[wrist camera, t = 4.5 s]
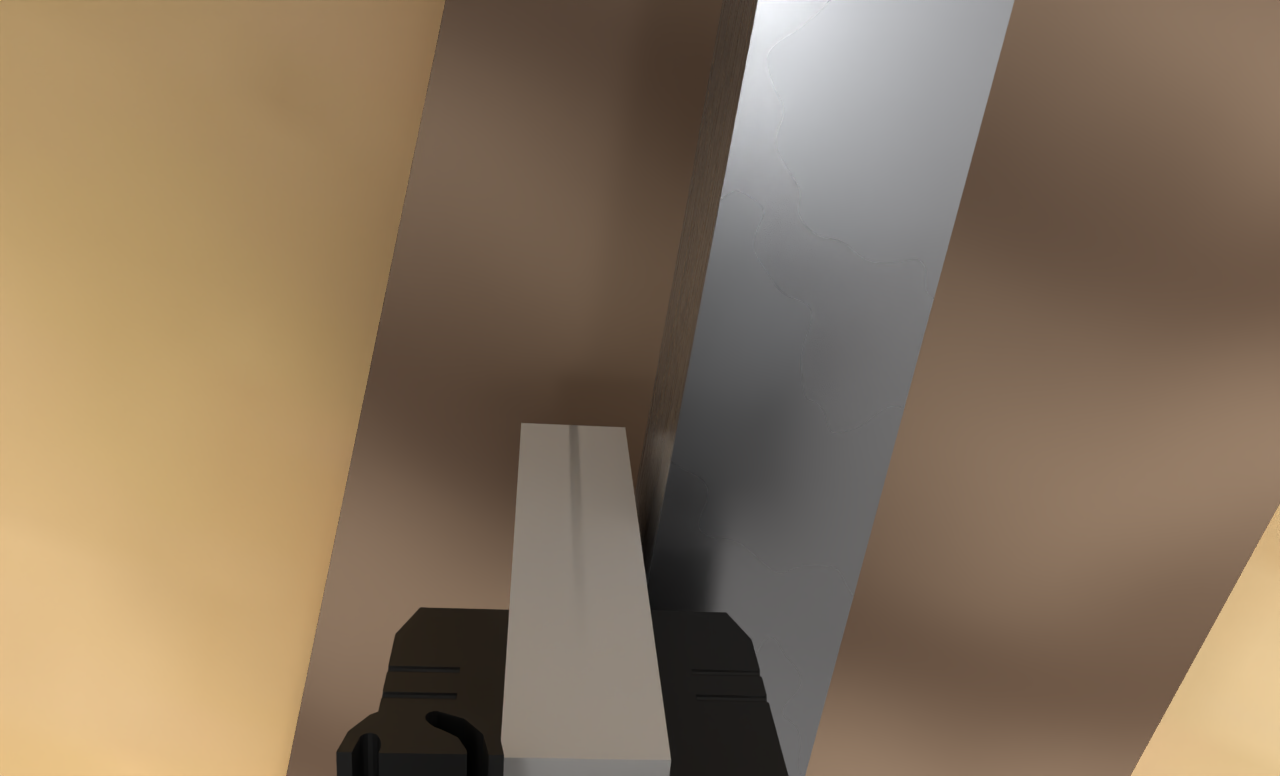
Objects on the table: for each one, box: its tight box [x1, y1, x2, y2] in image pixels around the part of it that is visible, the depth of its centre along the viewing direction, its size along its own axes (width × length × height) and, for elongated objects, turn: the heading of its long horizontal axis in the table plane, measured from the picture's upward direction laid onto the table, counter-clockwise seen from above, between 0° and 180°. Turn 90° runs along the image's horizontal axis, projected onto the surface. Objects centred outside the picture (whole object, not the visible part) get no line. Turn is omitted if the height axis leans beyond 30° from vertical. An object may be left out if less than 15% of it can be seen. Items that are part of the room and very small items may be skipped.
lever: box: [635, 0, 1014, 776], centre depth 13 cm, size 26×5×5 cm, turn 171°
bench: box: [286, 0, 1280, 776], centre depth 16 cm, size 32×15×6 cm, turn 164°
